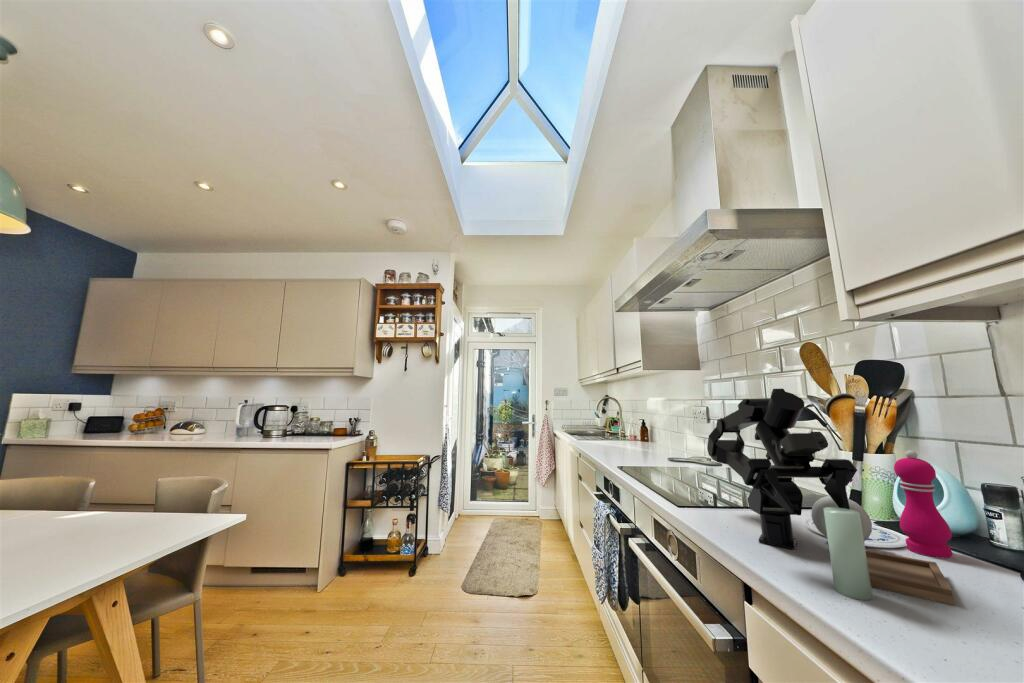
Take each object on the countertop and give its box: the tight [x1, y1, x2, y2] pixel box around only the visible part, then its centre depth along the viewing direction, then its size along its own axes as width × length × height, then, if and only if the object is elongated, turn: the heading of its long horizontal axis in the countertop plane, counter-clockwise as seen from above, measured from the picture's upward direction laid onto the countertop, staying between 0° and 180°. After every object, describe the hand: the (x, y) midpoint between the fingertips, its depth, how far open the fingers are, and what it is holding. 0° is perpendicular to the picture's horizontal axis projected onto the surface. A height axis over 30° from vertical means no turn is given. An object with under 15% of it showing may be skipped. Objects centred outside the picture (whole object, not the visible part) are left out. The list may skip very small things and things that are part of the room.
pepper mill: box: [893, 449, 953, 559], centre depth 78 cm, size 7×7×20 cm
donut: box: [810, 495, 873, 542], centre depth 81 cm, size 10×4×10 cm, turn 51°
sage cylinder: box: [823, 507, 874, 601], centre depth 62 cm, size 5×5×12 cm
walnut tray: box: [865, 549, 955, 606], centre depth 66 cm, size 13×13×2 cm
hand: (819, 512), depth 68 cm, fingers open, 9 cm apart
